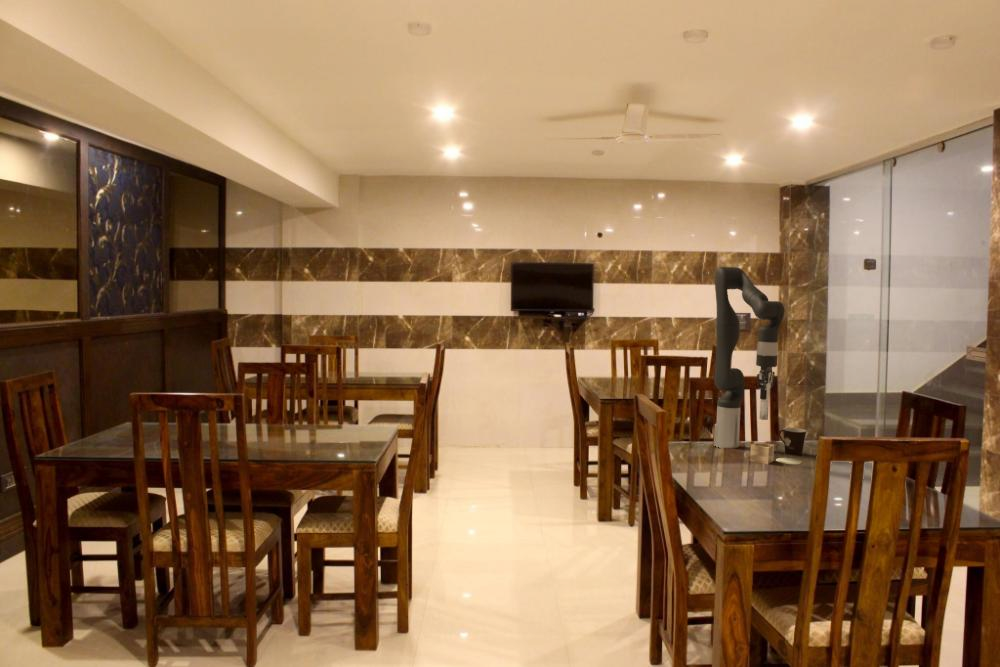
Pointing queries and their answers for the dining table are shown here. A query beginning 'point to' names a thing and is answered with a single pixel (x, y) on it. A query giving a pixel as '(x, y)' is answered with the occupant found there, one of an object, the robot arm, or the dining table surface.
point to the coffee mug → (793, 440)
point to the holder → (761, 453)
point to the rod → (765, 405)
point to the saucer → (788, 461)
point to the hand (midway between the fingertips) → (764, 398)
